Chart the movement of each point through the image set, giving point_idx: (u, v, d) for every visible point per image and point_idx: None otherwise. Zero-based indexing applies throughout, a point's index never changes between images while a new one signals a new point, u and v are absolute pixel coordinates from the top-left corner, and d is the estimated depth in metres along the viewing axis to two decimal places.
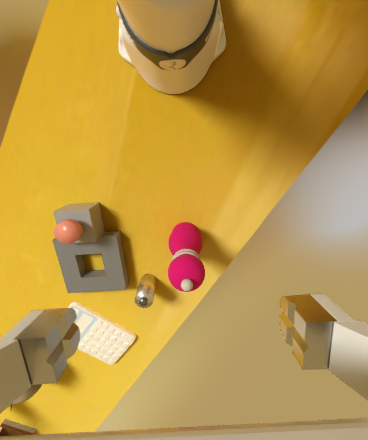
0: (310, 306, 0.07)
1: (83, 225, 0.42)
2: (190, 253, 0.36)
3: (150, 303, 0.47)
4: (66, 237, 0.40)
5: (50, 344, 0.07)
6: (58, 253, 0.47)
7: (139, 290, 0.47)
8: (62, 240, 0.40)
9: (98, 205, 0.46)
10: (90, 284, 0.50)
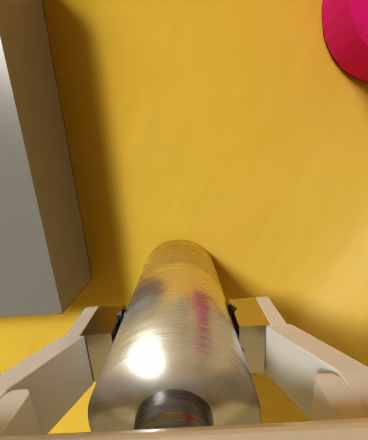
0: (250, 309, 0.07)
1: None
2: None
3: None
4: None
5: (113, 340, 0.07)
6: None
7: (136, 321, 0.06)
8: None
9: None
10: None
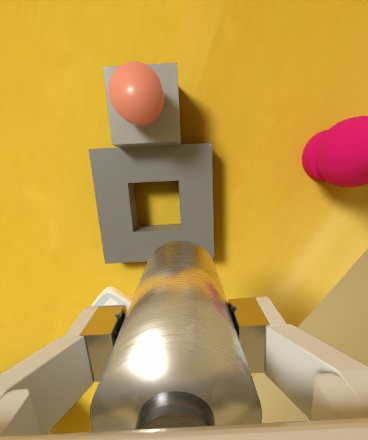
0: (250, 309, 0.07)
1: None
2: None
3: None
4: (135, 102, 0.17)
5: (113, 340, 0.07)
6: (96, 178, 0.25)
7: (137, 322, 0.06)
8: (124, 110, 0.18)
9: None
10: (148, 246, 0.27)
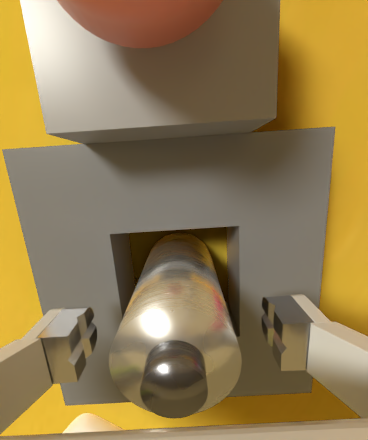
0: (289, 307, 0.07)
1: None
2: None
3: (221, 387, 0.07)
4: None
5: (71, 343, 0.07)
6: (30, 225, 0.10)
7: (144, 292, 0.07)
8: None
9: None
10: None
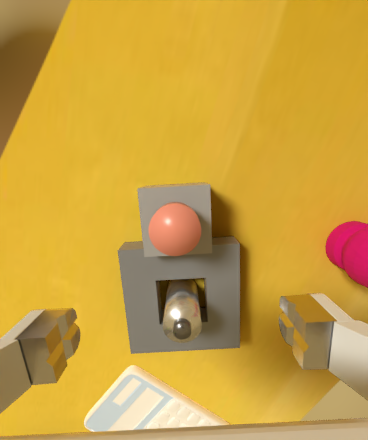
0: (310, 306, 0.07)
1: None
2: None
3: (195, 333, 0.22)
4: (174, 240, 0.18)
5: (50, 344, 0.07)
6: (124, 277, 0.25)
7: (172, 304, 0.22)
8: (164, 246, 0.18)
9: None
10: None
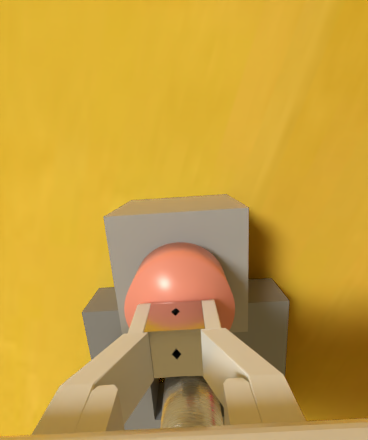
0: (191, 313, 0.07)
1: None
2: None
3: None
4: None
5: (175, 337, 0.07)
6: (96, 352, 0.15)
7: (174, 416, 0.13)
8: None
9: None
10: None
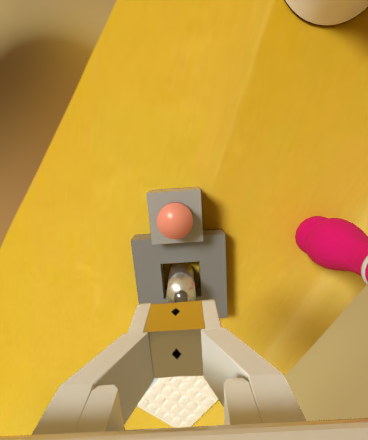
0: (191, 313, 0.07)
1: None
2: None
3: None
4: (174, 228, 0.26)
5: (175, 337, 0.07)
6: (136, 261, 0.32)
7: (173, 280, 0.29)
8: (167, 232, 0.26)
9: None
10: None
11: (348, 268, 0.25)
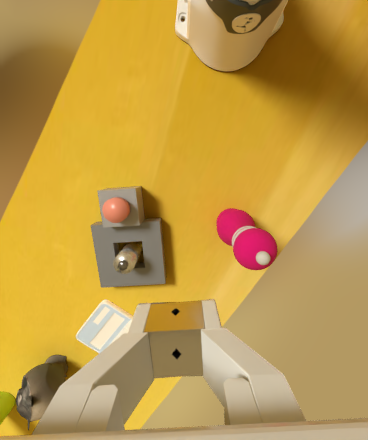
0: (191, 313, 0.07)
1: None
2: None
3: (131, 268, 0.40)
4: (115, 215, 0.37)
5: (175, 337, 0.07)
6: (95, 240, 0.44)
7: (119, 253, 0.41)
8: (110, 218, 0.37)
9: (140, 189, 0.43)
10: (126, 277, 0.45)
11: None
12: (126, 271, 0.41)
